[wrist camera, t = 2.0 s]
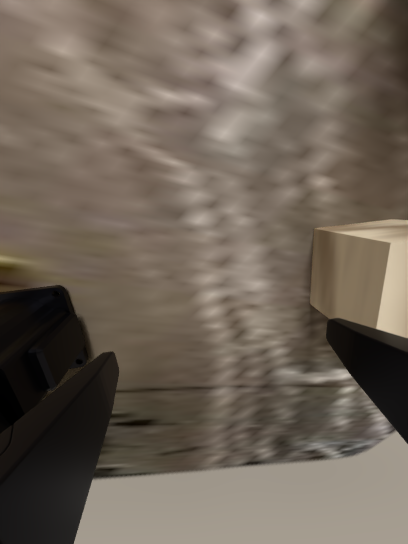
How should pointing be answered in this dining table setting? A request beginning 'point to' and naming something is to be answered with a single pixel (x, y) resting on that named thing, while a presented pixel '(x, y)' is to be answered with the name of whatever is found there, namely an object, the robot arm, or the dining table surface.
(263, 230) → the dining table surface
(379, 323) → the maple block
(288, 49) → the dining table surface
